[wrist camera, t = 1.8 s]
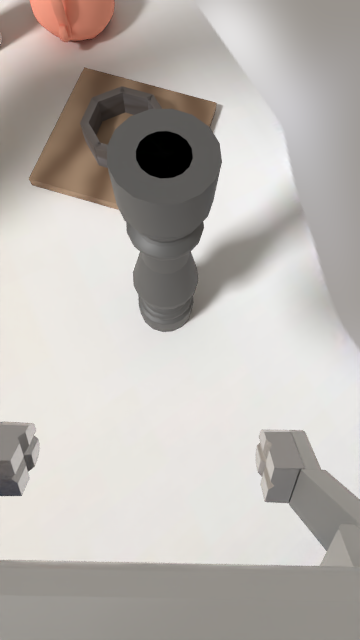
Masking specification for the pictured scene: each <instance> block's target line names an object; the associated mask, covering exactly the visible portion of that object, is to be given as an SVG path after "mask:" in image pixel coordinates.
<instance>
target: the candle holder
mask: <svg viewBox="0 0 360 640" xmlns="http://www.w3.org/2000/svg"><path fill="white" fill-rule="evenodd" d="M221 163H222V159H221V151H220V144H219V142H218V140H217V138H216V137H215V135H214V134H213V132H212V131H211V129H210V127H209V126H207V125H206V124H205V123H203V122H202V121H200V120H199V119H198V118H196V117H195V116H193V115H192V114H188V113H185V112H182V111H178V110H175V109H149V110H146V111H144V112H141V113H138V114H135V115H133V116H130V117H129V118H128V119H127V120H125V121H124V122H123V123H122V124H121V125H120V126H118V127H117V128H116V129H115V131H114V133H113V135H112V137H111V139H110V141H109V143H108V145H107V167H108V171H109V175H110V179H111V183H112V188H113V192H114V196H115V200H116V204H117V206H118V208H119V210H120V212H121V214H122V216H123V218H124V220H125V221H126V223H127V233H128V235H129V237H130V239H131V241H132V243H133V245H134V247H136V248H137V249H138V250H139V251H140V254H139V257H138V260H137V263H136V265H135V268H134V271H133V280H134V287H135V289H136V291H137V293H138V295H139V307H140V311H141V314H142V316H143V318H144V320H145V322H146V323H147V324H148V325H149V326H150V327H152V328H153V329H156V330H159V331H162V332H167V331H174V330H176V329H178V328H180V327H182V326H183V325H184V324H185V323H186V321H187V320H188V319H189V316H190V313H191V309H192V305H193V294H194V292H195V289H196V286H197V283H198V274H197V267H196V265H195V262H194V259H193V257H192V254H191V250H192V249H193V248H194V247H195V246H196V245H197V244H198V243H199V240H200V238H201V235H202V232H203V229H204V224H203V221H204V220H205V219H206V218H207V217H208V214H209V211H210V208H211V206H212V203H213V199H214V195H215V190H216V186H217V181H218V177H219V172H220V168H221Z"/></svg>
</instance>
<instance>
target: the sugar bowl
mask: <svg viewBox="0 0 360 640" xmlns="http://www.w3.org/2000/svg"><path fill="white" fill-rule="evenodd" d="M30 3H31V7H32V11H33V13H34V16H35V17H36V19H37V20H38V22H39V23H40V24H41V25H42V26H43V27H44V28H45V29H47V30H48V31H49V32H51V33H52V34H54V35H55V36H57V37H60V39H61V40H62V41H64V42H68V41H70V40H74V41H77V40H85V39H93V38H95V37H96V36H97V35H98V34H99V33H101V32H102V31H103V30H104V29H105V27H106V26H107V24H108V23H109V21H110V19H111V17H112V15H113V12H114V5H115V3H114V0H30Z"/></svg>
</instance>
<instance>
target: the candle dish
mask: <svg viewBox="0 0 360 640" xmlns="http://www.w3.org/2000/svg"><path fill="white" fill-rule="evenodd" d="M216 104H217V103H215V102H211V101H208V100H204V99H200V98H196V97H193V96H189V95H185V94H181V93H178V92H174V91H170V90H166V89H163V88H159V87H155V86H152V85H148V84H144V83H140V82H137V81H133V80H129V79H125V78H122V77H118V76H114V75H111V74H107V73H103V72H99V71H96V70H92V69H88V68H84V69H83V71H82V73H81V75H80V77H79V79H78V81H77V83H76V85H75V87H74V89H73V91H72V93H71V95H70V97H69V99H68V101H67V103H66V105H65V107H64V109H63V111H62V113H61V115H60V117H59V119H58V121H57V123H56V125H55V127H54V129H53V131H52V133H51V135H50V137H49V139H48V141H47V143H46V145H45V147H44V149H43V151H42V153H41V155H40V157H39V159H38V161H37V163H36V165H35V167H34V169H33V171H32V173H31V175H30V177H29V180H30V182H31V184H32V185H34V186H37V187H41V188H44V189H48V190H51V191H55V192H58V193H62V194H66V195H69V196H73V197H76V198H80V199H83V200H87V201H90V202H94V203H97V204H101V205H104V206H108V207H111V208H115V209H118V210H119V208H118V206H117V204H116V200H115V196H114V192H113V188H112V183H111V179H110V175H109V171H108V167H107V145H108V143H109V141H110V139H111V137H112V135H113V133H114V131H115V129H116V128H117V127H118V126H120V125H121V124H122V123H123V122H124V121H125V120H127V119H128V118H129V117H130V116H133V115H135V114H138V113H141V112H144V111H146V110H149V109H175V110H178V111H182V112H185V113H188V114H192V115H193V116H195V117H196V118H198V119H199V120H200V121H202V122H203V123H205V124H206V125H207V126H209V127H210V125H211V122H212V119H213V116H214V113H215V110H216Z"/></svg>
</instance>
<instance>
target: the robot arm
mask: <svg viewBox="0 0 360 640" xmlns="http://www.w3.org/2000/svg"><path fill="white" fill-rule="evenodd" d="M35 432H36V428H35V425H34V424H33V423H20V422H0V496H22V494H23V492H24V490H25V487H26V485H27V483H28V481H29V474H28V471H30V470H31V469H32V468H33V467H35V464H36V462H37V459H38V455H39V440H38V438H36V437H35V436H34V434H35ZM259 439H260V443H259V444H258V445H257V448H256V466H257V471H258V473H259V474H260V475H261V476H262V480H261V488H262V492H263V496H264V501H265V502H276V503H289V505H290V506H291V508H292V509H293V510H294V511H295V512H296V514H297V515H298V516H299V517H300V519H301V520H302V521H303V522H304V524H305V525H306V526H307V527H308V529H309V530H310V531H311V532H312V533H313V535H314V536H315V537H316V538H317V540H318V541H319V542H320V543H321V545H322V546H323V547H324V548H325V550H326V551H327V552H326V554H325V556H324V558H323V560H322V562H321V564H320V566H290V565H240V564H190V563H140V562H87V561H36V560H0V640H360V499H358V498H357V497H356V496H355V495H354V494H353V493H351V492H350V491H349V490H348V489H347V488H346V487H345V486H343V485H342V484H341V483H340V482H339V481H338V480H336V479H335V478H334V477H333V476H332V475H331V474H330V473H328V472H327V471H326V470H321V468H320V466H319V463H318V461H317V459H316V456H315V454H314V452H313V449H312V447H311V445H310V442H309V440H308V438H307V435H306V433H305V432H304V431H303V430H261V431H260V435H259Z"/></svg>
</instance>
